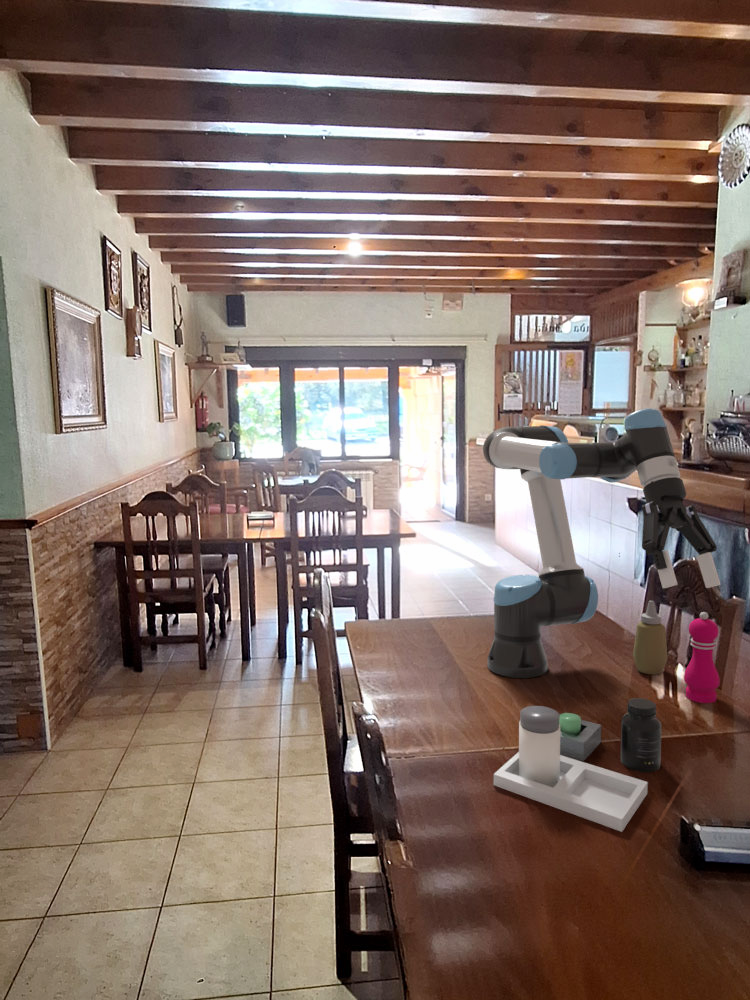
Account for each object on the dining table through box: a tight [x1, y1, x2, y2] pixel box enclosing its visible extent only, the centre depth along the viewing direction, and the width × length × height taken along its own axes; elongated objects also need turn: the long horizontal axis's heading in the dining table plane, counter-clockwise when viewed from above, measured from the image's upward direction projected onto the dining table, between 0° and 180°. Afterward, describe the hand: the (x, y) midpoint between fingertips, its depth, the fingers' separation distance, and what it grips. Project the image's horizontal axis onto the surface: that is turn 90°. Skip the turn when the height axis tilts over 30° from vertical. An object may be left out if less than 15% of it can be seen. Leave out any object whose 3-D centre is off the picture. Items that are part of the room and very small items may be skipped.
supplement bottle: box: [620, 697, 662, 773], centre depth 120 cm, size 7×7×12 cm
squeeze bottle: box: [632, 600, 669, 675], centre depth 164 cm, size 8×8×18 cm
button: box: [559, 712, 582, 736], centre depth 127 cm, size 4×4×3 cm
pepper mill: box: [683, 611, 721, 704], centre depth 148 cm, size 7×7×20 cm
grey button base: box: [559, 713, 602, 762], centre depth 128 cm, size 9×9×4 cm
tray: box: [493, 751, 649, 833], centre depth 112 cm, size 22×13×2 cm, turn 52°
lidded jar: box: [518, 705, 561, 788], centre depth 115 cm, size 7×7×12 cm
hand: (692, 586), depth 124 cm, fingers open, 13 cm apart
